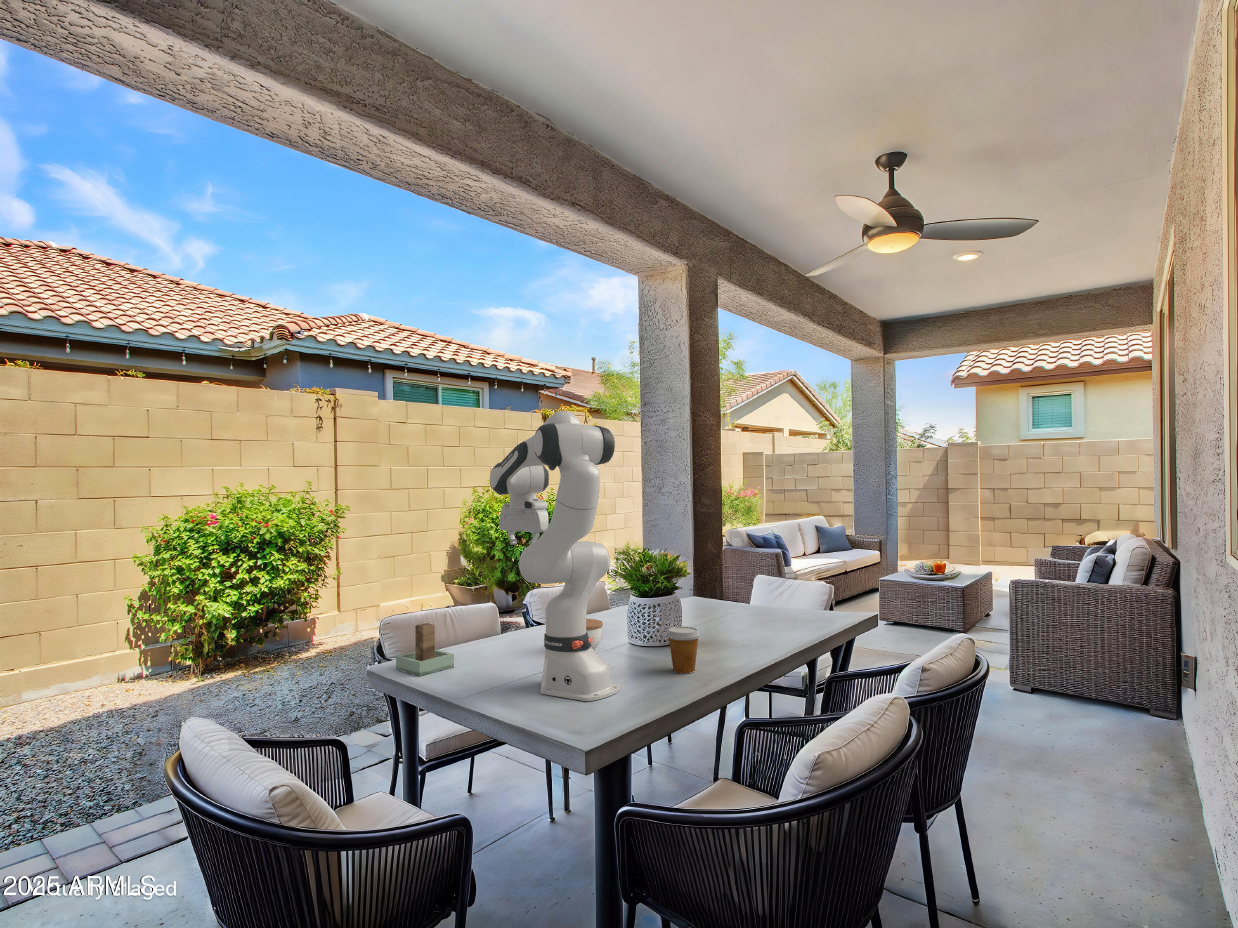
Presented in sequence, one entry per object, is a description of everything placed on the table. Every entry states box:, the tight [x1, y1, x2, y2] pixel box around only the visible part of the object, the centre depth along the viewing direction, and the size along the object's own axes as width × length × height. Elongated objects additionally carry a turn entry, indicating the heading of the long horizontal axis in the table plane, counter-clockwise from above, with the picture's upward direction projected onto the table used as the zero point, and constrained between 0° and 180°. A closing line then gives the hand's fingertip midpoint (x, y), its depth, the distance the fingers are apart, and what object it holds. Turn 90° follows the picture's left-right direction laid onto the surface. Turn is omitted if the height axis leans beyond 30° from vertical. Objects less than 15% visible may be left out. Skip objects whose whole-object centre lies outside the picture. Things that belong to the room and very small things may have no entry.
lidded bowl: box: [586, 618, 604, 651], centre depth 216 cm, size 13×13×11 cm
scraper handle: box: [414, 622, 436, 661], centre depth 196 cm, size 6×4×12 cm, turn 51°
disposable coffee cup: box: [666, 626, 701, 674], centre depth 190 cm, size 10×10×12 cm
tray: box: [395, 649, 455, 677], centre depth 196 cm, size 12×12×4 cm
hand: (523, 545), depth 215 cm, fingers open, 8 cm apart
